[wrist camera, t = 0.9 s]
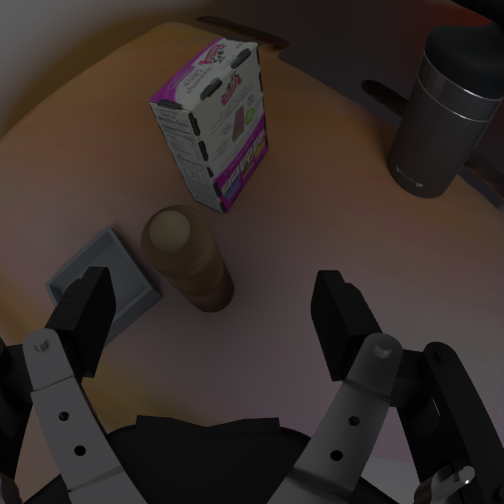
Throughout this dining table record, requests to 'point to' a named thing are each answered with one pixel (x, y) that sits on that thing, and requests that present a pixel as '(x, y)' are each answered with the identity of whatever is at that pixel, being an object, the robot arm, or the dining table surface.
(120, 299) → the tray
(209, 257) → the pepper mill
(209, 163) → the candy bar box
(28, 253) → the dining table surface
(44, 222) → the dining table surface
